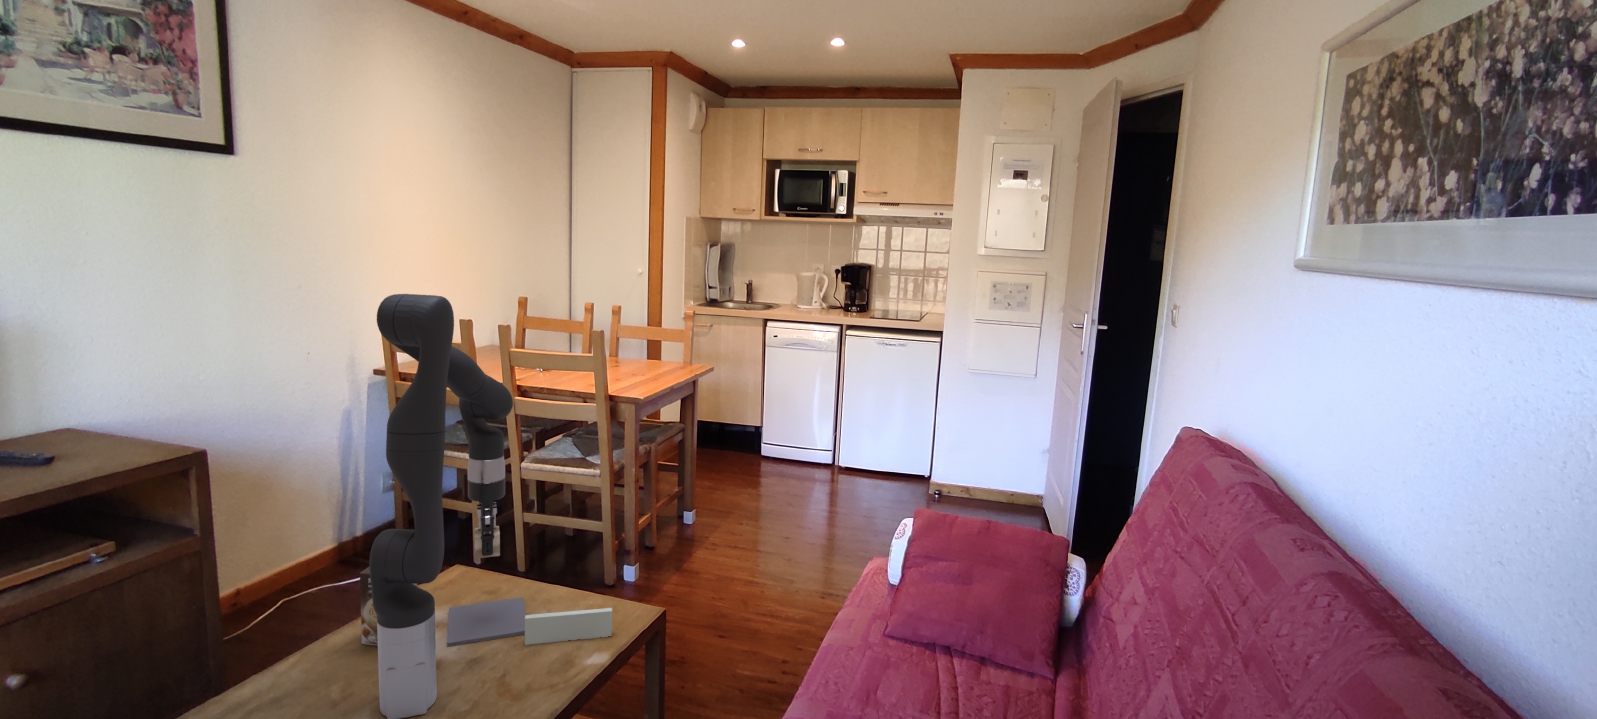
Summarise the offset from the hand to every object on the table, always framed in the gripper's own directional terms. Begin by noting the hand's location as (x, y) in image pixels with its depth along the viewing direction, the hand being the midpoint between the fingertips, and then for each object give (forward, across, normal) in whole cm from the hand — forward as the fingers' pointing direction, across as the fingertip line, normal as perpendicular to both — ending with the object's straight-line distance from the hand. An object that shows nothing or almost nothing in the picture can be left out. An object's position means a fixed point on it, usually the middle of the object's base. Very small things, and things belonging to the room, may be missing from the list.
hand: (487, 549), depth 159 cm
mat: (+17, 0, 0) cm, 17 cm away
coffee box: (+17, +1, -19) cm, 26 cm away
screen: (+17, +13, +16) cm, 27 cm away
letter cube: (+1, 0, 0) cm, 1 cm away
